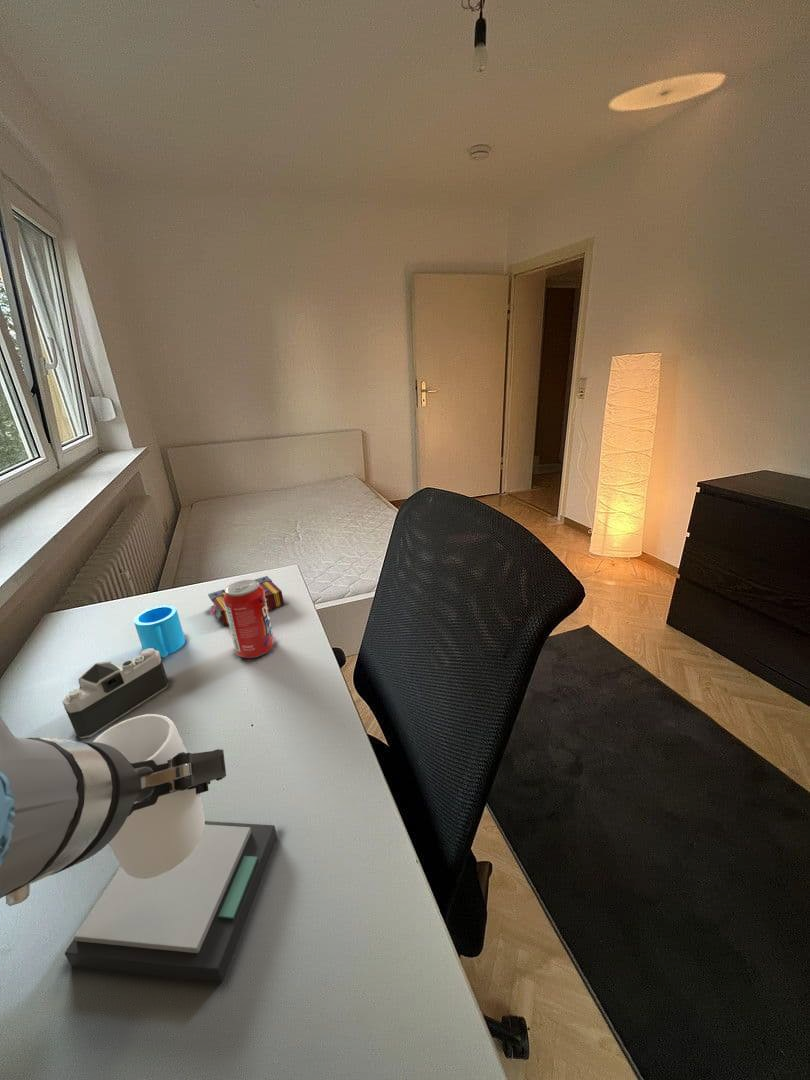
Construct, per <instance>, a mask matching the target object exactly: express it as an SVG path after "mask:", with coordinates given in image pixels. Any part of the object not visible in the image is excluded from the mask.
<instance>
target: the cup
mask: <svg viewBox="0 0 810 1080" xmlns="http://www.w3.org/2000/svg"><path fill="white" fill-rule="evenodd" d="M92 742H98V743H103V744H107V745H109V746H111V747H113V748H115V749H117V750H118V751H119V752H121V753H122V754H123V755H124V756H125V757H126V759H127V760H128V761H129V762H130V763H137V762H142V761H148V760H153V761H155V763H156V764H157V765H160V764H165V763H168V762H167V760H168V759H171V758H173V757H174V756H176V755H178V753H182V752H185V753H188V751H187V749H186V746H185V744H184V742H183V739H182V737H181V735H180V733H179V731H178V729H177V727H176V725H175V723H174V721H173V720H172V719H170V718H169V717H168V716H166V715H162V714H158V713H146V714H141V715H136V716H134V717H131V718H127V719H125V720H122V721H121V722H118V723H116V724H114V725H113V726H111V727H109V728H108V729H106V730H104V731H102V733H101V734H99V735H98V736H97V737H96V738H94V740H93V741H92ZM136 802H137V801H136ZM136 802H134V804H135V803H136ZM205 821H206V817H205V811H204V807H203V803H202V799H201V793H199V794H196V788H193V789H190V790H188V789H186V790H182V791H176V792H173V793H169V794H166V795H163V796H159V797H158V799H157V802H156V803H155V804H154V805H151V806H148V807H145V808H142V809H138V810H135V811H133V812H132V814H131V815H130V816H128V817H127V819H126V821H125V822H124V824H123V826H122V827H121V829H120V830H119V831H118V833H117V834H116V835H115V837H114V838H113V839H112V840H111V841H110V842H109V843H108V844H107V845H108V846H109V847H110V849H111V851H112V853H113V855H114V856H115V858H116V860H117V862H118V863H119V865H120V867H121V866H122V868H123V869H124V870H125V872H126V873H127V874H128V875H130V876H132V877H135V878H140V879H148V878H152V877H156V876H159V875H161V874H163V873H165V872H167V871H170V870H171V869H172V868H174V867H175V866H177V865H178V864H180V863H181V862H182V861H183V860H184V859H186V858H187V857H188V856H189V855H190V854H191V853H192V851H193V850H194V848H195V847H196V846H197V844H198V842H199V840H200V838H201V836H202V834H203V830H204V826H205Z"/></svg>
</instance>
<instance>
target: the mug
mask: <svg viewBox="0 0 810 1080" xmlns="http://www.w3.org/2000/svg"><path fill="white" fill-rule="evenodd" d="M133 624H134V626H135V630H136V634H137V636H138V639H139V642H140V645H141V648H142V651H143V650H146V649H149V648H154V650H156V651H159V654H160V657H161V658H166V657H168V655H171V654H173V653H175V652H177V651H178V650H180V649H181V648H182V647H183V646H184V645H185V643H186V637H185V634H184V631H183V626H182V624H181V620H180V616H179V613H178V610H177V607H176V606H174V605H169V604H164V605H157V606H153V607H150V608H148V609H145V610H143V611H142V612H140V613H138V614H137V615H136V616H135V617H134V618H133Z"/></svg>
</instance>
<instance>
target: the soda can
mask: <svg viewBox="0 0 810 1080" xmlns="http://www.w3.org/2000/svg"><path fill="white" fill-rule="evenodd" d="M224 590H225V595H224V597H223V601H224V605H225V609H226V614H227V618H228V622H229V624H228V626H229V630H230V634H231V638H232V642H233V646H234V650H235V654H236V655H237V656H238V657H241V658H245V659H251V658H252V659H253V658H257V657H260V656H263V655H265V654H267V653H269V652H270V650H271V649H272V648H273V647H274V645H275V638H274V634H273V629H272V628H273V627H272V623H271V618H270V612H269V611H268V608H267V603H266V598H265V593H264V589H263V588H262V587H261V586H260V585H259V583H258V582H257V581H255V579H243V580H239V581H235V582H233V583H231V584H229V585H227V586H226V587H225V588H224Z"/></svg>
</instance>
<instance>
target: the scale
mask: <svg viewBox="0 0 810 1080" xmlns="http://www.w3.org/2000/svg"><path fill="white" fill-rule="evenodd" d="M277 839H278V835H277V830H276V826H275V824H258V823H245V822H243V823H242V822H227V821H211V820H210V821H209V820H205V826H204V830H203V834H202V836H201V838H200V840H199V842H198V844H197V846H196V847H195V848H194V850H193V851H192V853H191V854H190V855H189V856H188V857H187V858H186V859H184V860H183V861H182V862H181V863H180V864H178V865H177V866H175V867H174V868H172V869H171V870H170V871H167V872H165V873H163V874H161V875H159V876H156V877H152V878H148V879H140V878H135V877H132V876H130V875H128V874H127V873H126V872H125V870H124V869H123V868H122V866H121V865H120V867H119V869H118V870H117V871H116V873H115V874H114V876H113V878H111V881H110V882H109V883H108V885H107V886H106V888H105V890H104V891H103V893H102V894H101V895H100V897H99V899H98V900H97V902H96V903H95V905H94V906H93V908H92V909H91V911H90V912H89V914H88V915H87V916H86V918H85V920H84V921H83V923H82V924H81V926H80V927H79V929H78V930H77V932H76V933H75V935H74V936H73V937H74V938H73V939H72V941H71V942H70V944H69V945H68V947H67V948H66V950H65V951H64V956H65V958H66V959H67V960H68V962H69V964H70V966H71V967H76V968H77V967H78V968H87V969H96V970H106V971H115V972H123V973H135V974H143V975H153V976H159V977H160V976H162V977H171V978H180V979H187V980H197V981H198V980H199V981H206V982H207V981H208V982H215V983H216V982H217V983H223V982H224V980H225V977H226V974H227V971H228V969H229V966H230V963H231V961H232V958H233V955H234V953H235V950H236V948H237V945H238V942H239V939H240V937H241V934H242V931H243V930H244V927H245V924H246V922H247V918H248V916H249V914H250V910H251V908H252V905H253V903H254V900H255V897H256V894H257V892H258V890H259V887H260V884H261V882H262V879H263V876H264V873H265V871H266V868H267V865H268V863H269V860H270V857H271V854H272V852H273V850H274V847H275V844H276V842H277Z"/></svg>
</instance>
